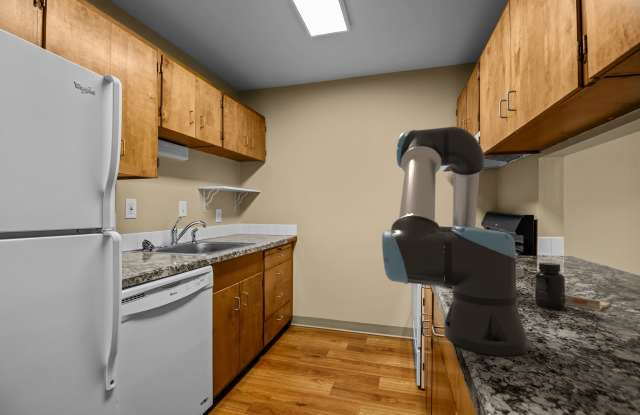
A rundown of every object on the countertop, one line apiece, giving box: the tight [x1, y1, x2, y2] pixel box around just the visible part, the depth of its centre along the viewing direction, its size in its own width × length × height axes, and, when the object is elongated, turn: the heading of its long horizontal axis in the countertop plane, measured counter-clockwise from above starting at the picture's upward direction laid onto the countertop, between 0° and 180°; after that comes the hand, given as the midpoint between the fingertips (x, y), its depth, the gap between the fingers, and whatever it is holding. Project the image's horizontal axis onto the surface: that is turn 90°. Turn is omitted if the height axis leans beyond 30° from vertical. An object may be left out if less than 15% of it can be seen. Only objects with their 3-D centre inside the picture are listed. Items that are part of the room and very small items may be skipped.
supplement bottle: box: [534, 262, 566, 311], centre depth 86 cm, size 7×7×12 cm
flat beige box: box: [565, 293, 612, 312], centre depth 89 cm, size 10×10×3 cm
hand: (512, 275), depth 94 cm, fingers open, 13 cm apart
